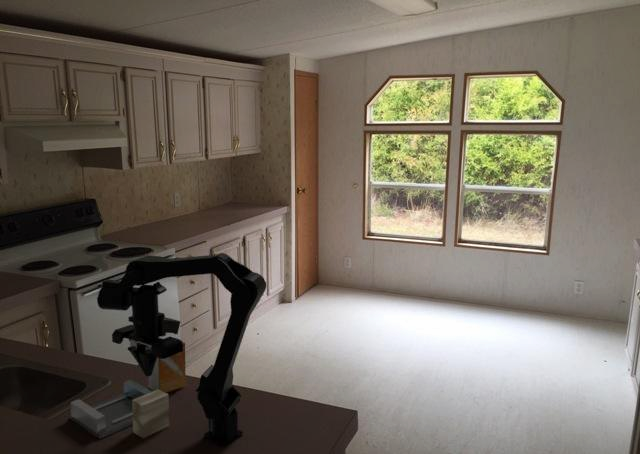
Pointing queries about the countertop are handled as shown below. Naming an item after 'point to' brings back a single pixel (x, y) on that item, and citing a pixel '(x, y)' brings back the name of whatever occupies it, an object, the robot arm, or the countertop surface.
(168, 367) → the small box
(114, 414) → the vise bed
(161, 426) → the ash block
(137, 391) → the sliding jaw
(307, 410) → the countertop surface
